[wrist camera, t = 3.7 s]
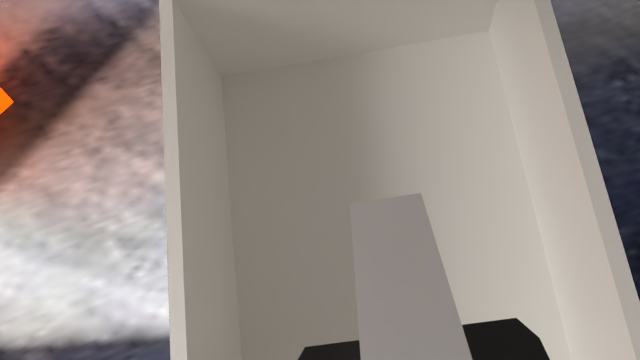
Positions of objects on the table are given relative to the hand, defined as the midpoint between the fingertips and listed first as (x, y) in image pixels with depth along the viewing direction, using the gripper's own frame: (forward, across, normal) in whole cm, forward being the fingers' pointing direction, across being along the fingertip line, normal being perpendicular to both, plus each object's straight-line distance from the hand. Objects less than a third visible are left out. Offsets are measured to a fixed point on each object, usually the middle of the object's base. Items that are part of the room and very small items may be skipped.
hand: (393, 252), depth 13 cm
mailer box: (+15, 0, -8) cm, 17 cm away
